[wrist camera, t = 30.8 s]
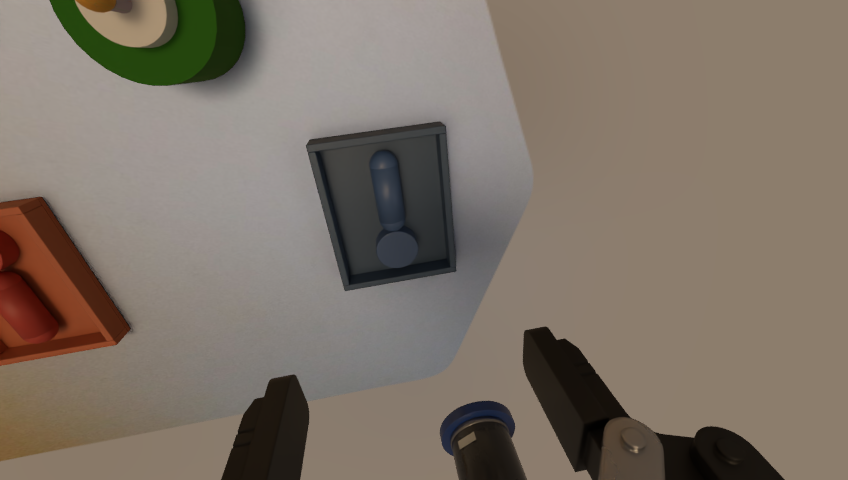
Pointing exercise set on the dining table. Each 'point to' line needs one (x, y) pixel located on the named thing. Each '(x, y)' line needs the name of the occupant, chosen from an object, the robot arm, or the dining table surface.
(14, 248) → the red spoon
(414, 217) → the dark grey tray
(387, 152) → the blue spoon
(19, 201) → the red tray
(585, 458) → the robot arm
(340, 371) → the dining table surface
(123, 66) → the candle
